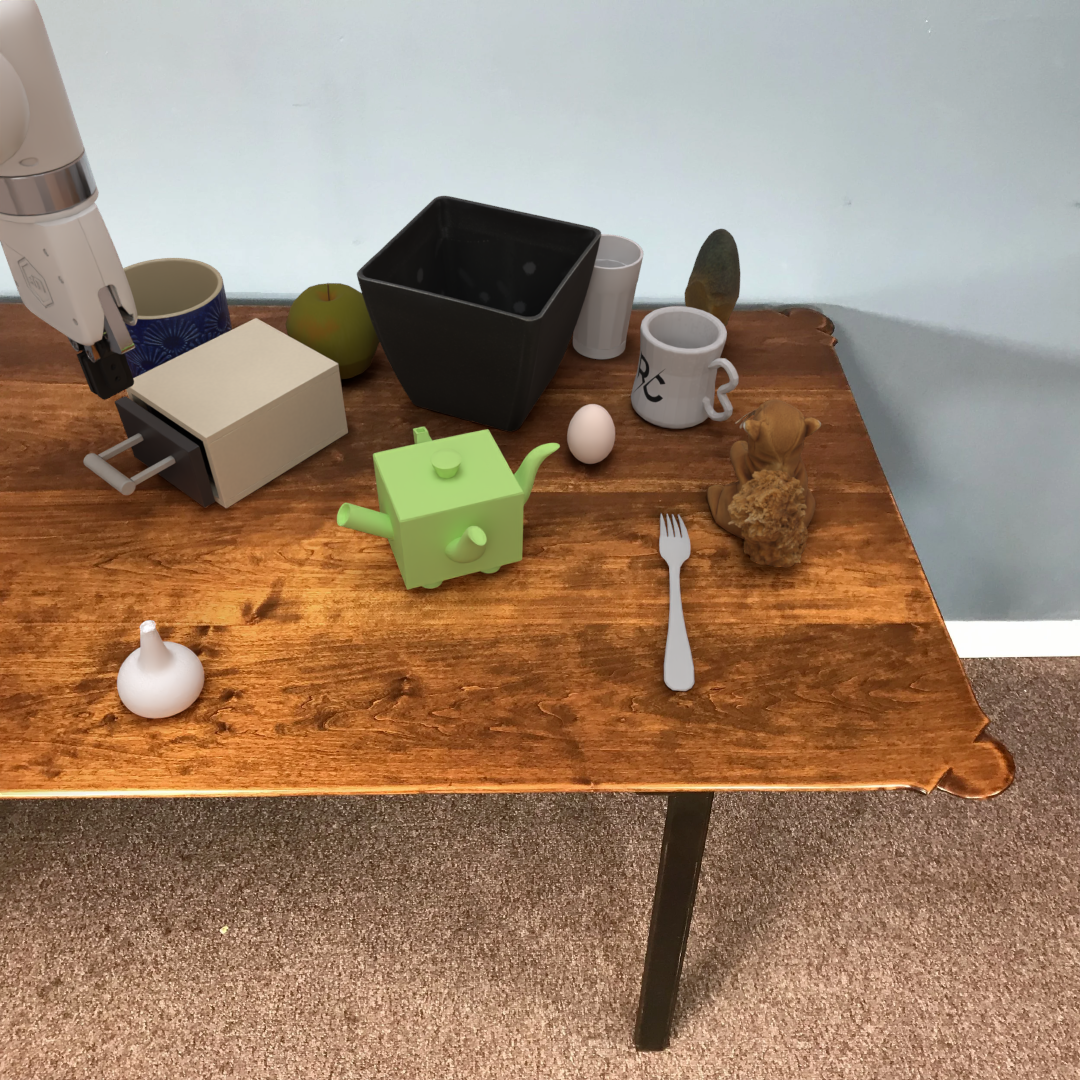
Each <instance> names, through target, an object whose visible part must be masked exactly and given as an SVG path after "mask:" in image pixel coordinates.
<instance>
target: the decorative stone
mask: <svg viewBox="0 0 1080 1080" xmlns="http://www.w3.org/2000/svg"><path fill="white" fill-rule="evenodd" d="M740 291H741V264H740V254H739V249H738V245H737V242H736V241H735V238H734V235H732V233H730V231H729V230H727V229H726V228H718V229H717V228H716V229H714V230H713V231H712V232H711V233H710V234H709V235H708V236H707V237H706V238H705V240H704V241H703V243H702V245H701V247H700V248H699V250H698V252H697V255H696V257H695V261H694V264H693V267H692V269H691V272H690V275H689V278H688V282H687V285H686V287H685V290H684V304H685V307H691V308H696V309H699V310H703V311H705V312H707V313H710V314H712V315H713V316H715V317H716V318H718V319H719V320H720V321H721V322H722V323H723V324H724V326H725V327H726V326H727V325H729V320H730V317H731V315H732V313H733V311H734V309H735V306H736V305H737V302H738V300H739V298H740Z"/></svg>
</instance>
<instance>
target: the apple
mask: <svg viewBox="0 0 1080 1080" xmlns="http://www.w3.org/2000/svg"><path fill="white" fill-rule="evenodd" d="M284 325H285V330H286V333H287V334H286V335H288V336H289V337H291V338H293V339H295V340H297V341H298V342H300V343H302V344H304V345H306V346H307V347H309V348H311V349H313V350H315V351H316V352H318V353H320V354H322V355H324V356H325V357H327V358H329V359H331V360H333V361H334V362H336V363H338V365H339V373H340V380H347V379H352V378H354V377H357V376H359V375H361V374H363V373H364V372H365V371H366V370H367V369H369V368H370V367H371V364H372V363H373V360H374V357H375V354H376V352H377V350H378V347H379V346H380V342H379V339H378V337H377V335H376V332H375V330H374V327H373V324H372V322H371V319H370V316H369V313H368V310H367V308H366V304H365V301H364V298H363V295H362V292H361V291H359V290H357V289H356V288H354V287H352V286H350V285H348V284H344V283H339V282H335V283H334V282H327V283H318V284H314V285H311V286H309V287H307V288H305V290H303V291H302V292H301V293H300V294H299V295H298V296H297V297H296V298H295V299H294V300H293V302H292V304H291V306H290V307H289V311H288V314H287V317H286V321H285V324H284Z"/></svg>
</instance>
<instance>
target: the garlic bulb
mask: <svg viewBox="0 0 1080 1080" xmlns="http://www.w3.org/2000/svg"><path fill="white" fill-rule="evenodd" d="M156 625H157V623H156V621H155V620H153V619H147V620H144V621H143V622H141V624H140V625H139V630H140V631H139V639H140V642H139V643H140V645H139V646H140V647H138V648H136V649H135V650H133V651H132V652H131V653H130V654H129V655H128V656H127V657H126V658H125V660H124V661H123V662H122V663H121V665H120V668H119V670H118V673H117V677H116V688H117V693H118V696H119V698H120V701H121V702H122V703H123V705H124V706H125V707H126V708H127V709H128V710H129V711H130V712H131V713H133V714H135V715H137V716H139V717H143V718H147V719H163V718H169V717H172V716H175V715H177V714H180V713H181V712H183V711H185V710H187V709H188V708H189V707H190V706H191V705H192V704H193V703H194V702H196V700H197V699H198V698H199V696H200V694H201V693H202V690H203V687H204V684H205V670H204V666H203V663H202V662H201V660H200V658H199V657H198V655H197V654H196V653H195V652H194V651H193V650H191V649H190V648H188V647H187V646H186V645H182V644H180V643H177V642H174V641H168V640H167V641H166V640H165V641H163V639H162V637H161V635H160V633H159V632H158V629H157V627H156Z"/></svg>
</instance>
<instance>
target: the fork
mask: <svg viewBox="0 0 1080 1080" xmlns="http://www.w3.org/2000/svg"><path fill="white" fill-rule="evenodd" d="M665 516H666V522H665V519H664V516H663V513H662V512H660V516H659V541H658V542H659V543H658V544H659V547H658V548H659V554H660V556H661V558H663V560H665V562H666V564H667V566H668V568H669V570H668V571H669V613H668V629H667V636H666V644H665V650H664V651H665V652H664V660H663V661H664V662H663V682H664V683H665V685H666V687H668V688H669V689H671V690H672V691H679V692H687V691H689V690H690V689H692V688H693V687H694V684H695V666H694V660H693V655H692V651H691V646H690V642H689V638H688V632H687V628H686V623H685V617H684V611H683V604H682V595H681V594H682V593H681V581H680V580H681V579H680V576H681V574H680V573H681V567H682V565H683V564H684V563H685V562H686V561H687V560H688V559H689V558H690V555H691V539H690V536H689V532H688V530H687V527H686V525H685V522H684V520H683V519H682V517H681V515H680V514H677V517H678V521H677V519H676V517H675V515H674V513H671V518H672V520H671V518H670V516H669V514H668V513H666V515H665ZM678 522H679V525H678ZM672 524H673V525H672ZM666 525H667V527H666Z"/></svg>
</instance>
